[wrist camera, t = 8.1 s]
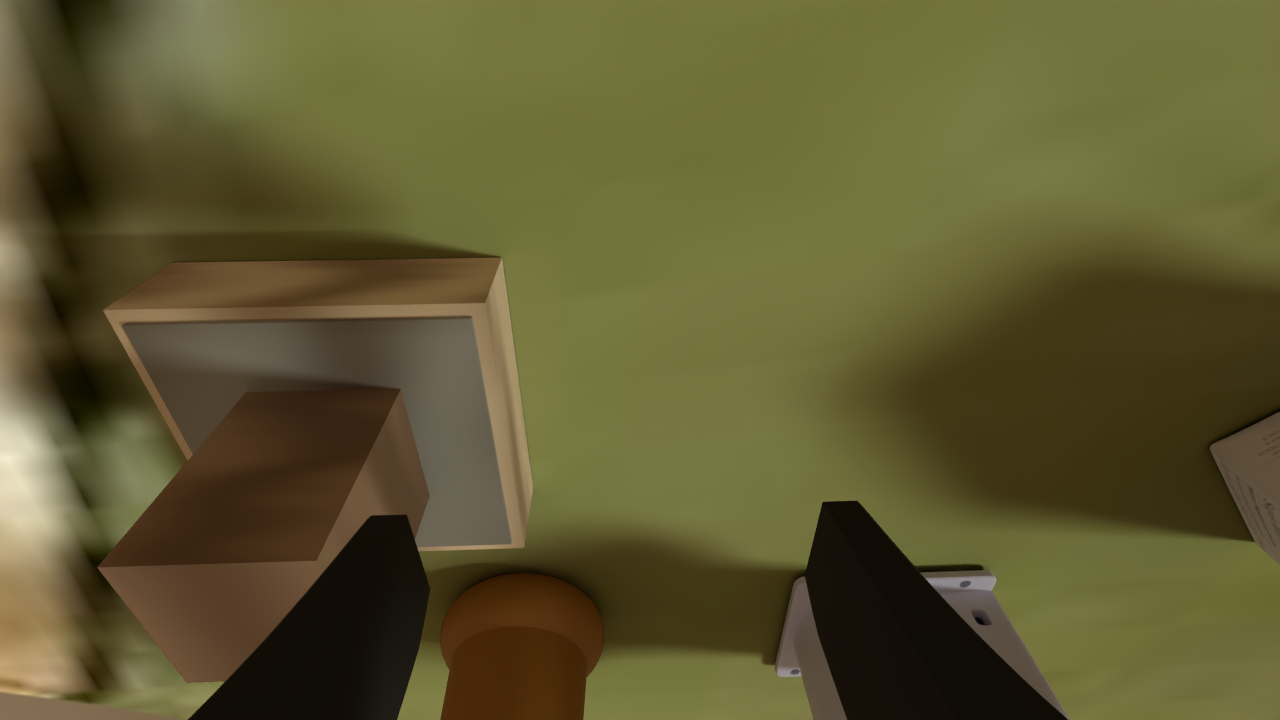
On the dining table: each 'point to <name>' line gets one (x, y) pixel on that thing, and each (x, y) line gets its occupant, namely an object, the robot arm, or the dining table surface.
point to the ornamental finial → (520, 649)
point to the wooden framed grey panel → (352, 365)
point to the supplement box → (1255, 479)
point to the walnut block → (263, 519)
